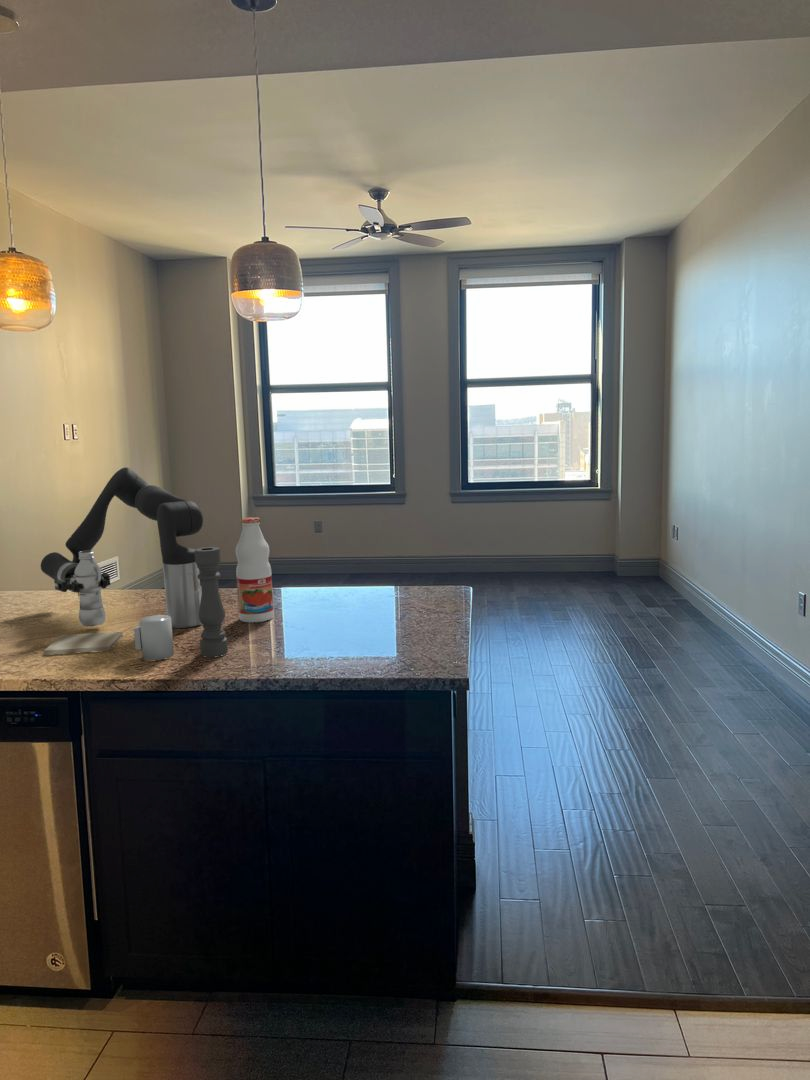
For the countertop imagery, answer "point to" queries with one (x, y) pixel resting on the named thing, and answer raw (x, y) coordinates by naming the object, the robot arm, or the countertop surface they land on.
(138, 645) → the grey mug
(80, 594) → the plastic bottle
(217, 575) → the candle holder
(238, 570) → the fruit juice
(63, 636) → the plain beige board
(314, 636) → the countertop surface
